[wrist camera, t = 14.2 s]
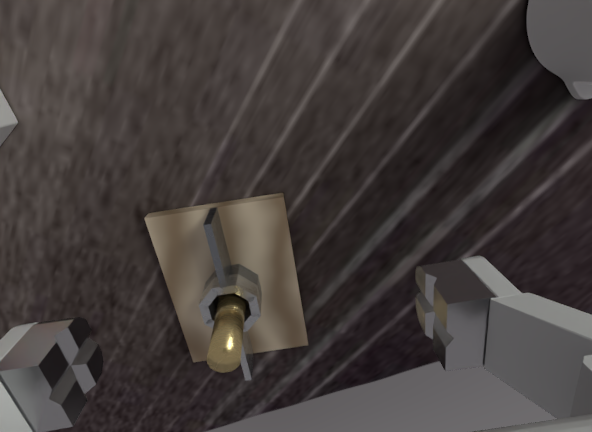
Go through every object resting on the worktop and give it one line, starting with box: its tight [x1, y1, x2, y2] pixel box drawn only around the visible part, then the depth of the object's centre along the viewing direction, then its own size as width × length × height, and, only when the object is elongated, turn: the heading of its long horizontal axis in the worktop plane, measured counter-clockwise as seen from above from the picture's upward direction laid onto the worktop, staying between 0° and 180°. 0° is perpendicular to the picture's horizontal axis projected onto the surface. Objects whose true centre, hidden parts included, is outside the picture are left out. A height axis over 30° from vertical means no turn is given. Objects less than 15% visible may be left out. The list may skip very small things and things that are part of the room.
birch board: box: [144, 193, 308, 362], centre depth 47 cm, size 16×22×2 cm
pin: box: [207, 293, 246, 373], centre depth 41 cm, size 3×3×12 cm
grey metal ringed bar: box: [199, 207, 262, 381], centre depth 44 cm, size 7×22×4 cm, turn 8°
